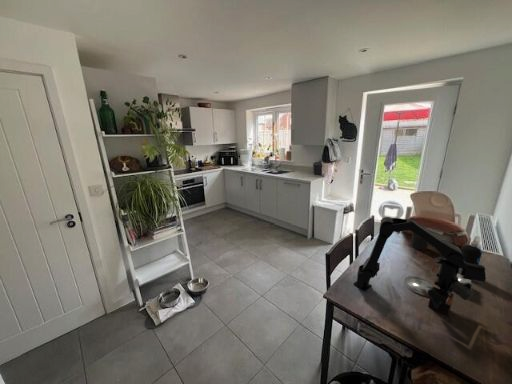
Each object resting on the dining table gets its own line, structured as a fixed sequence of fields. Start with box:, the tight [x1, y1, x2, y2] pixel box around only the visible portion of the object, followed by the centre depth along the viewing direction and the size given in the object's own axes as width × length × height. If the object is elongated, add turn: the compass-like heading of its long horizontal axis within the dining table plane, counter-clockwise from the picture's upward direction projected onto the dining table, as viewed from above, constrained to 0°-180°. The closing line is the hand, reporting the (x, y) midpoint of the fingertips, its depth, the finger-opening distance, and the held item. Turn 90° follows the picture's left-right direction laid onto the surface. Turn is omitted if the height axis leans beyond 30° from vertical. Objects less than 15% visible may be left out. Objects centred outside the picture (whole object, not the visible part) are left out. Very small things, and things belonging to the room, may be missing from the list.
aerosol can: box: [458, 241, 483, 274], centre depth 111 cm, size 8×8×20 cm
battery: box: [427, 286, 455, 316], centre depth 91 cm, size 4×7×10 cm, turn 39°
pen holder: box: [410, 232, 429, 252], centre depth 141 cm, size 9×9×10 cm
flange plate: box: [404, 276, 437, 298], centre depth 106 cm, size 14×14×1 cm
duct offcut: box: [457, 274, 472, 285], centre depth 103 cm, size 10×6×6 cm, turn 134°
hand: (439, 303), depth 92 cm, fingers open, 9 cm apart
